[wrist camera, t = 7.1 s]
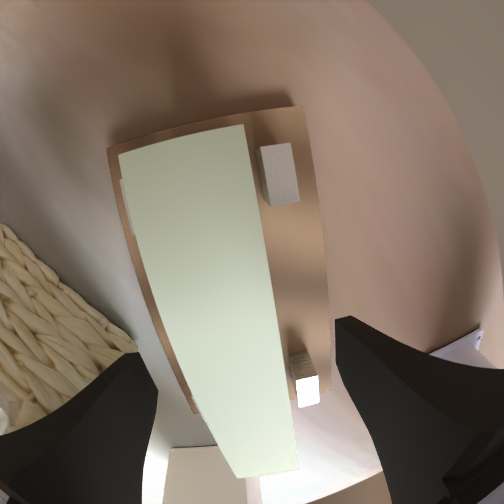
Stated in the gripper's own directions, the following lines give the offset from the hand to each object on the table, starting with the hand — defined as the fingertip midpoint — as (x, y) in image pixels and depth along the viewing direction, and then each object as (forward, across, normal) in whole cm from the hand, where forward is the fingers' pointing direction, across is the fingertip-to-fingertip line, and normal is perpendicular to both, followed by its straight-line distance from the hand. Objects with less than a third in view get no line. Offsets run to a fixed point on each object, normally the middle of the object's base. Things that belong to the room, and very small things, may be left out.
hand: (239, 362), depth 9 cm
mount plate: (+7, 0, 0) cm, 7 cm away
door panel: (+6, 0, 0) cm, 6 cm away
